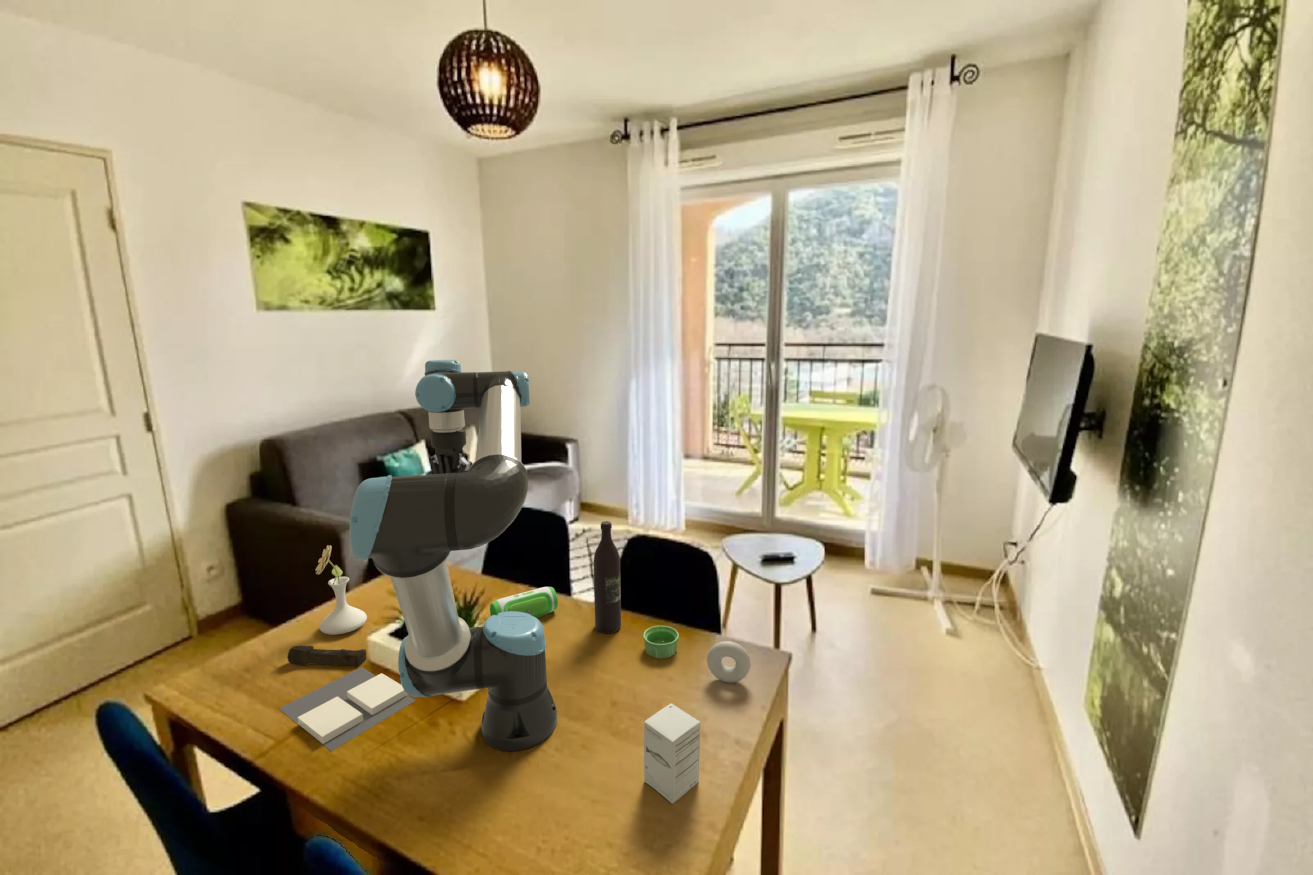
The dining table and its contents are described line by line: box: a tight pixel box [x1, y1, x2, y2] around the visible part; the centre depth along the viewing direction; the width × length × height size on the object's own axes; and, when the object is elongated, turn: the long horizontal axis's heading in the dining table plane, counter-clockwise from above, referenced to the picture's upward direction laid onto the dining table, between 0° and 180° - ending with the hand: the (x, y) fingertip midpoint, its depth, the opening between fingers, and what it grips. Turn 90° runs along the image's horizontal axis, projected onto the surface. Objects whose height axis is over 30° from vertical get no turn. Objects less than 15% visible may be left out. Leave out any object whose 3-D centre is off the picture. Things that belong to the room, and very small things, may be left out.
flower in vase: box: [315, 544, 368, 636], centre depth 151 cm, size 13×11×25 cm
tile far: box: [347, 672, 409, 715], centre depth 124 cm, size 2×8×10 cm
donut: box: [706, 640, 752, 683], centre depth 130 cm, size 10×3×10 cm, turn 76°
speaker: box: [489, 586, 559, 619], centre depth 158 cm, size 18×7×8 cm, turn 123°
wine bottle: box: [593, 520, 622, 634], centre depth 151 cm, size 7×7×30 cm
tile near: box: [297, 696, 363, 745], centre depth 116 cm, size 2×8×10 cm
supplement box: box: [643, 702, 701, 805], centre depth 101 cm, size 7×7×13 cm
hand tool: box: [286, 645, 367, 668], centre depth 138 cm, size 19×4×5 cm, turn 85°
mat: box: [278, 666, 417, 752], centre depth 122 cm, size 22×18×1 cm
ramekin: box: [642, 625, 680, 659], centre depth 143 cm, size 9×9×4 cm
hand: (455, 528), depth 132 cm, fingers closed
